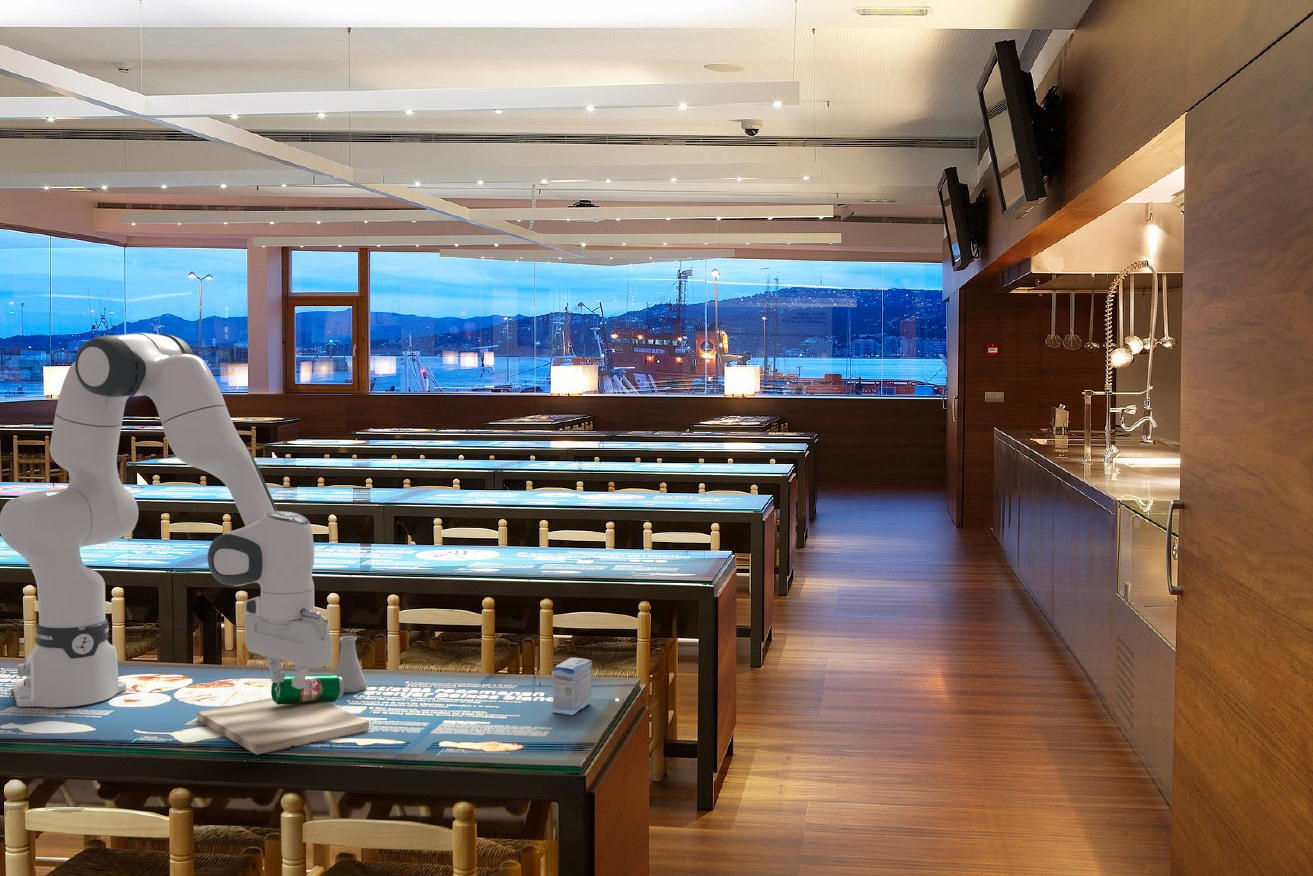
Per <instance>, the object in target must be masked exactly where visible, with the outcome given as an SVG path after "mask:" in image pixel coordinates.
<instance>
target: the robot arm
mask: <svg viewBox="0 0 1313 876" xmlns="http://www.w3.org/2000/svg"><path fill="white" fill-rule="evenodd" d="M74 359H75V360H74V362H72V363H71V365H69V368H68V370H67V373H66V374H65V377H64V380H63V383H62V386H61V389H60V392H59V396H58V400H57V405H56V409H55V414H54V420H53V426H52V432H51V437H50V444H49V449H48V450H49V454H50V456H51V459H52V460H53V461H54V462H55V463H56V464H57V465H58V466H60V467H61V468H62V469H64V470H66V471H67V472H68V476H69V477H68V478H69V479H68V485H67V487H66V488H61V489H59V488H58V489H50V490H49V489H48V490H38V491H33V492H29V493H26V494H22V495H19V496H17V497H14V498H11V499H9V500H8V501H7V502H6V503H5V504H4V506H3V507H2V509H1V511H0V536H1V539H2V540H3V541H4V543H5V544H6V545H7V546H8V547H9V548H11V549H12V550H13V551H15V552H16V553H18V554H19V555H20V556H21V557H22V558H23V559H24V560H25V561H26V562H27V565H28V566H29V567H30V569H31V571H32V573H33V575H34V578H35V583H36V587H37V588H36V589H37V604H38V605H37V606H38V624H36V629H35V632H34V635H35V639H34V643H35V646H34V647H33V648H32V650H31V652H30V653H29V654H28V656H27V657H26V660H25V663H19V664H17V676H18V677H19V678H20V677H22V678H23V677H25V679H24V680H20V681H17V682H14V683H13V684H12V692H13V695H14V700H15V703H16V707H19V708H21V707H23V708H24V707H42V708H69V707H79V706H85V705H92V704H96V703H99V702H102V701H103V702H104V701H106V700H108V699H111V698H113V697H114V696H115V695H116V694H118V693H121V692H124V691H125V690H127V689H128V688H127V687H128V686H127V683H126V682H123V681H120V680H119V669H118V668H119V667H118V666H119V665H118V653H117V648H116V646H114V645H112V644H111V643H110V642H109V640H108V639H109V631H110V628H109V627H110V626H109V620H108V619H107V618H106V583H105V580H104V578H103V576H102V575H101V574H100V573H99V572H97V571H96V570H94V569H92V568H90V567H88V566H86V565H85V563H84V561H83V560H82V556H81V552H80V551H81V550H80V548H81V547H87V546H89V547H90V546H93V545H100V544H101V545H102V544H107V543H110V542H113V541H115V540H119V539H122V538H123V537H126V536H127V535H130V534H131V533H132V532H133V531H134V529H135V528H136V525H137V523H138V520H139V505H138V503H137V501H136V499H135V497H134V496H133V494H132V493H131V492H130V491H129V490H128V489H127V488H126V487H125V486H124V484H123V483H122V481H121V478H120V476H119V472H118V471H119V470H118V463H117V462H118V461H117V460H118V451H119V445H120V438H121V437H120V436H121V432H122V431H121V430H122V425H123V419H124V413H125V407H126V403H127V400H128V399H129V398H130V397H143V396H146V397H149V399H151V400H152V402H153V403H154V405H155V408H156V411H157V413H158V417H159V419H160V423H161V427H162V429H163V433H164V435H165V438H166V441H167V444H168V445H169V447H170V449H171V451H172V452H173V454H174V455H175V457H176V458H177V459H179V461H181V462H182V463H184V464H186V465H188V466H190V467H192V468H195V469H198V470H200V471H201V470H202V471H205V472H206V473H209V474H211V475H212V476H214V477H215V478H217V479H219V480H220V481H221V482H222V483H223V484H224V485H225V486H226V488H227V489H228V490H229V493H230V495H231V497H232V499H233V501H234V504H235V506H236V508H237V510H238V513H239V514H240V517H241V519H242V521H243V523H244V526H243V527H241V528H240V527H239V528H237V529H234V530H231V531H227V532H224V533H223V534H221V535H218V536H217V537H215V538H214V539H213V541H212V542H211V543H210V545H209V548H208V551H207V558H206V559H207V565H208V569H209V572H210V573H211V574H212V576H213V577H214V579H215V580H216V581H218V582H219V583H220V584H222V585H225V586H229V587H231V586H232V587H239V586H245V585H248V584H254V583H255V584H258V585H259V586H260V595H259V596H256V597H252V598H250V599H246V600H245V601H244V602H243V611H244V612H245V613H246V614H245V618H244V643H245V646H246V649H247V651H248V652H250V653H253V654H257V655H261V656H264V657H266V664H267V666H268V669H269V671H270V680H271V682H272V683H273V682H276V683H280V682H284V680H285V677H284V676H285V675H286V672H285V670H284V671H283V670H282V664H281V661H284V662H288V663H292V664H294V669H295V670H296V672H295V674H294V675H295V677H293V678H292V687H293V688H297V689H301V688H304V687H305V677H306V676H307V675H309V674H308V673H309V671H310V669H318V668H323V667H327V666H329V665H330V663H331V662H332V660H333V659H332V658H333V653H332V640H331V639H332V638H331V634H330V628H329V625H328V623H327V620H326V619H325V617H324V616H323V614H322V613H321V612H320V611H319V612H318V611H315V583H314V580H313V575H312V574H313V568H314V565H315V547H314V544H315V543H314V535H313V529H312V526H311V522H310V521H309V519H308V518H307V517H305V516H304V515H302V514H300V513H297V512H292V511H282V510H278V508H277V506H276V503H275V501H274V499H273V497H272V494H271V493H270V490H269V488H268V486H267V484H266V481H265V478H264V477H263V475H262V472H261V471H260V468H259V465H258V464H257V462H256V460H255V457H254V456H253V455H252V453H251V451H250V450H249V448H248V447H247V445H246V444H245V443H244V441H243V440H242V438H241V437H240V435H239V433H238V431H237V429H236V427H235V425H234V423H233V420H232V417H231V416H230V413H229V409H228V408H227V405H226V402H225V399H224V396H223V394H222V391H221V389H220V387H219V384H218V382H217V381H216V378H215V376H214V375H213V373H212V371H211V369H210V368H209V366H208V364H207V363H206V361H205V360H204V359H202V358H201V357H200V356H198V355H194V352H193V350H192V348H191V347H190V345H189V344H188V343H187V342H186V341H185V340H183V339H181V338H180V337H176V336H174V335H170V334H166V333H158V334H155V333H147V332H132V333H126V334H117V335H111V334H105V335H100V336H97V337H94V338H91V339H89V340H87V341H85V342H84V343H83V344H82V345H80V347H79V349H78V351H77V353H76V355H75V358H74Z"/></svg>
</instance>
